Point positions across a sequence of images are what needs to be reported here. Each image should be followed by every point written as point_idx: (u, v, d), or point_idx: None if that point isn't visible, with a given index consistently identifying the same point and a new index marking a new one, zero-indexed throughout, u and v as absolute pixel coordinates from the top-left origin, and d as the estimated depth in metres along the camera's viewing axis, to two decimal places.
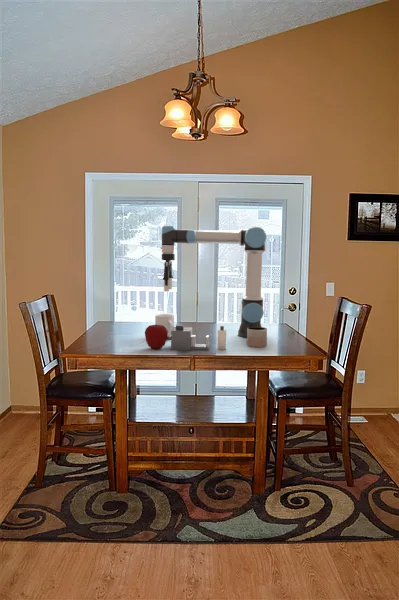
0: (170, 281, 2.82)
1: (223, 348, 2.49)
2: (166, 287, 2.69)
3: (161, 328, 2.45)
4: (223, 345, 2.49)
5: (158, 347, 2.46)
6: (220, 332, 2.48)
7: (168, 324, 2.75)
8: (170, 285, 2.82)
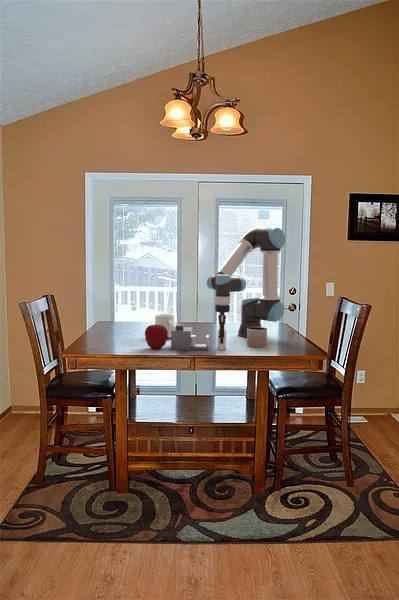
0: None
1: None
2: (221, 345, 2.48)
3: (161, 328, 2.45)
4: None
5: (158, 347, 2.46)
6: None
7: (168, 324, 2.75)
8: None
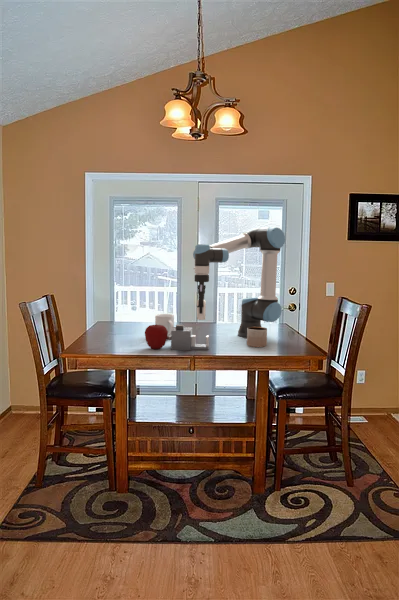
0: None
1: None
2: (200, 315, 2.47)
3: (161, 328, 2.45)
4: None
5: (158, 347, 2.46)
6: None
7: (168, 324, 2.75)
8: None
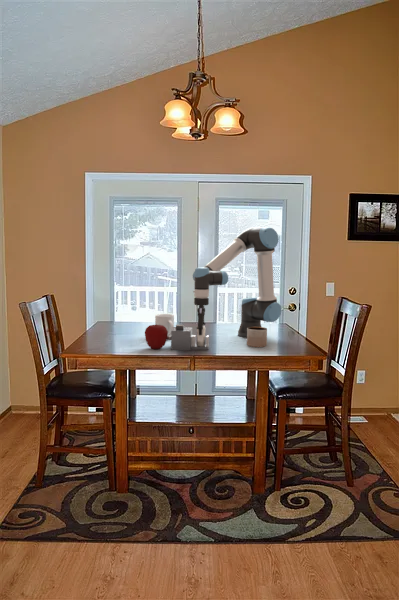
0: None
1: (202, 345, 2.50)
2: (200, 337, 2.45)
3: (161, 328, 2.45)
4: (202, 342, 2.49)
5: (158, 347, 2.46)
6: None
7: (168, 324, 2.75)
8: None
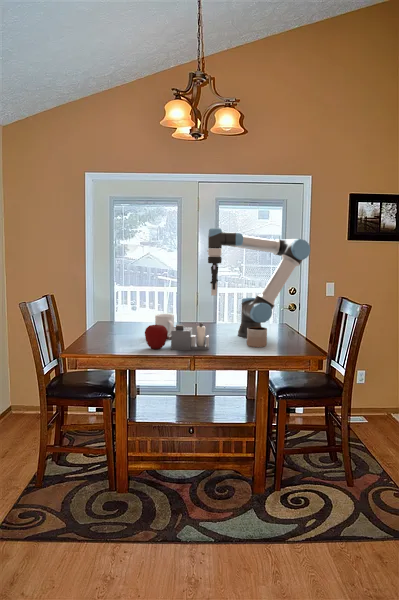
0: (215, 285, 2.74)
1: (202, 345, 2.50)
2: (213, 291, 2.61)
3: (161, 328, 2.45)
4: (202, 342, 2.49)
5: (158, 347, 2.46)
6: (199, 329, 2.49)
7: (168, 324, 2.75)
8: (215, 289, 2.74)
